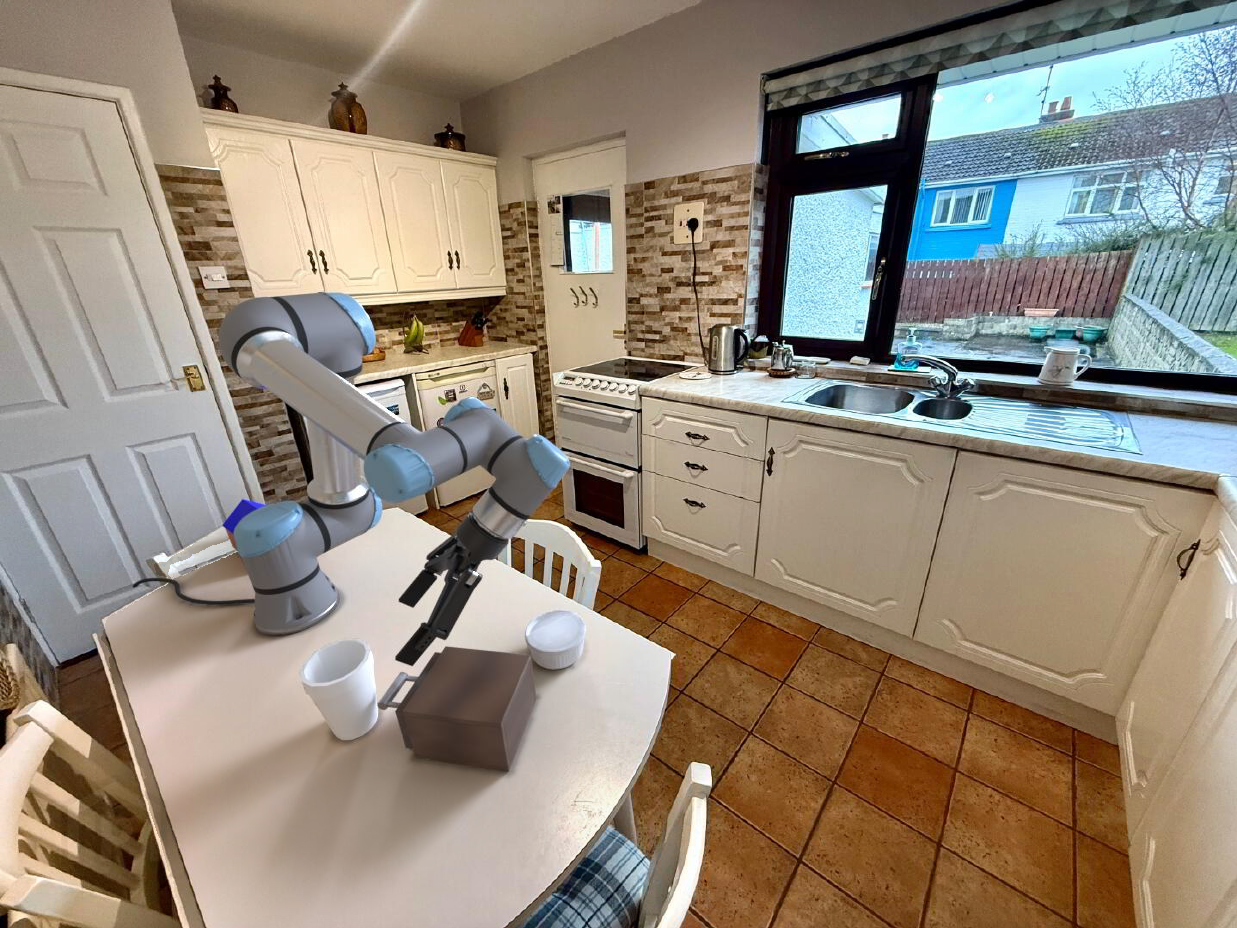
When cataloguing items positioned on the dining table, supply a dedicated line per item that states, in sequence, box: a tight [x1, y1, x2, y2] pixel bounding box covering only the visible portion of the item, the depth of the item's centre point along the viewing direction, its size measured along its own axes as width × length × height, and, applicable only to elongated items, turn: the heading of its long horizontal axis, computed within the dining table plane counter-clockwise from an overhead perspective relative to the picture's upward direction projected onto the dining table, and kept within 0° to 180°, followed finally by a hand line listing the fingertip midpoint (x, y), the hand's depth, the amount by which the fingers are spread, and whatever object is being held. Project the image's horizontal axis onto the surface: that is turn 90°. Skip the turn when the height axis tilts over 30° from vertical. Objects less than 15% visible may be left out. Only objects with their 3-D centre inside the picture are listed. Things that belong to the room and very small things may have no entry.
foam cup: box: [298, 637, 379, 741], centre depth 75 cm, size 10×9×13 cm
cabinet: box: [403, 645, 537, 772], centre depth 74 cm, size 15×13×10 cm
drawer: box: [377, 651, 441, 750], centre depth 75 cm, size 19×11×8 cm, turn 81°
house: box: [221, 498, 267, 551], centre depth 124 cm, size 12×20×12 cm, turn 54°
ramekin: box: [524, 609, 587, 670], centre depth 89 cm, size 11×11×5 cm
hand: (404, 630), depth 75 cm, fingers open, 13 cm apart
